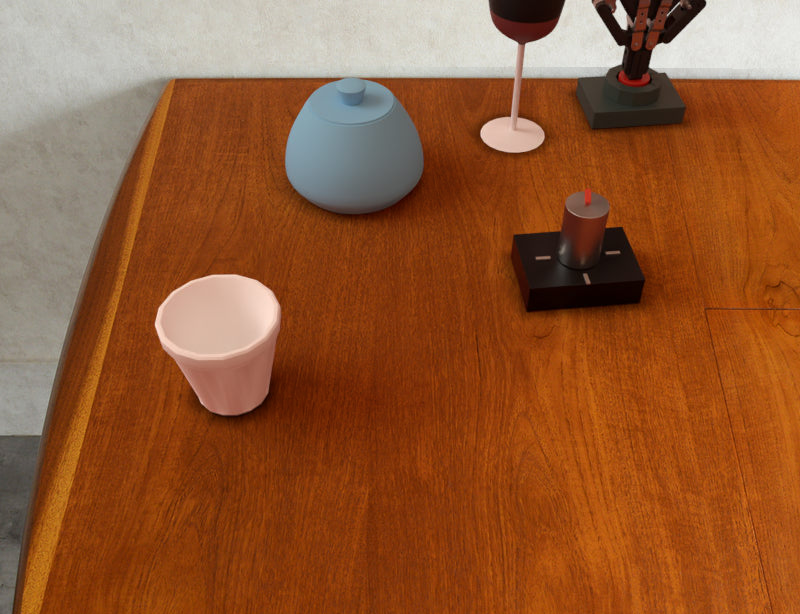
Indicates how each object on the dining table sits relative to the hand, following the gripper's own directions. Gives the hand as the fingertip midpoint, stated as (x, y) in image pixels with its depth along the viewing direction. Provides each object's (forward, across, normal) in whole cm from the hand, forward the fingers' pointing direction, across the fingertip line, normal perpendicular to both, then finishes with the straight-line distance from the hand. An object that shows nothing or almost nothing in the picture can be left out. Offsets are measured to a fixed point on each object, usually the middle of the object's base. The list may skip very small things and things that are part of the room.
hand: (633, 76), depth 105 cm
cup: (+5, -47, -41) cm, 62 cm away
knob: (+1, -14, -30) cm, 33 cm away
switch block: (+4, 0, 0) cm, 4 cm away
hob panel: (+4, -14, -30) cm, 33 cm away
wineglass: (+4, -15, -4) cm, 16 cm away
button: (+2, 0, 0) cm, 2 cm away
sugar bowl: (+5, -34, -11) cm, 36 cm away
